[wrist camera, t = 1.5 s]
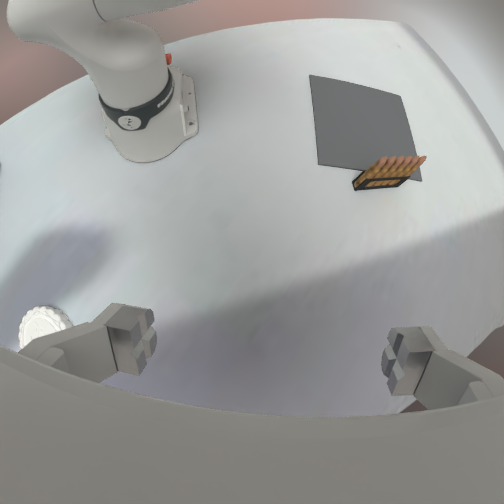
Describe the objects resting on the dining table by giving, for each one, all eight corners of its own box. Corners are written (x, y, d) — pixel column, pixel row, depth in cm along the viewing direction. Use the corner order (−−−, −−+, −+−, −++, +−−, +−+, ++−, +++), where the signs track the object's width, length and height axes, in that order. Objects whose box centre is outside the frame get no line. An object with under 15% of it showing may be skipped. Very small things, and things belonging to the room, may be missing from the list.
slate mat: (309, 75, 58) (309, 74, 58) (399, 96, 61) (400, 96, 60) (318, 164, 53) (318, 163, 53) (421, 181, 56) (422, 180, 55)
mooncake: (18, 340, 41) (7, 340, 38) (47, 292, 44) (36, 291, 40) (58, 386, 41) (49, 390, 37) (90, 339, 43) (81, 340, 40)
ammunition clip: (395, 178, 55) (427, 151, 43) (398, 186, 55) (431, 161, 43) (351, 181, 54) (380, 151, 42) (354, 190, 53) (384, 161, 41)
